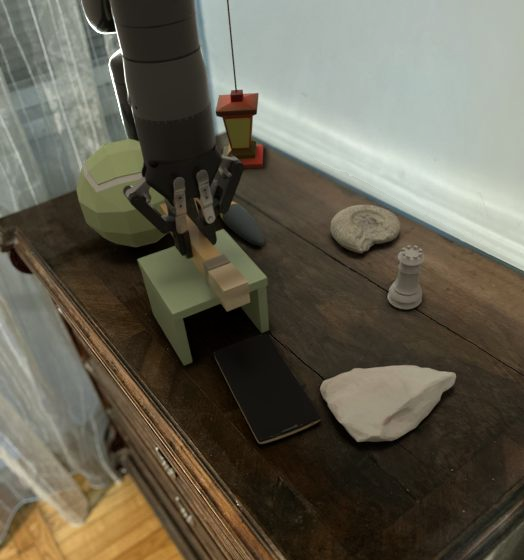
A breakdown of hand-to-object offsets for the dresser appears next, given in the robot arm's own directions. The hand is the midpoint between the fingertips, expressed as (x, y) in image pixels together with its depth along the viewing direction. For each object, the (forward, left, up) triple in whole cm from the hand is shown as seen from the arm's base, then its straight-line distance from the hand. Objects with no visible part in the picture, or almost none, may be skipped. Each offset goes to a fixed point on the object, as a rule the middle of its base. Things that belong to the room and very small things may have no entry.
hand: (197, 250), depth 65 cm
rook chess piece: (+10, +24, -12) cm, 28 cm away
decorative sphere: (-24, -1, -12) cm, 27 cm away
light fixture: (-38, +24, -12) cm, 46 cm away
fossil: (-5, +28, -12) cm, 31 cm away
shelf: (0, 0, -12) cm, 12 cm away
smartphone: (+14, +1, -12) cm, 18 cm away
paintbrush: (-20, +13, -12) cm, 27 cm away
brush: (0, 0, -1) cm, 1 cm away
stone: (+23, +12, -12) cm, 28 cm away
